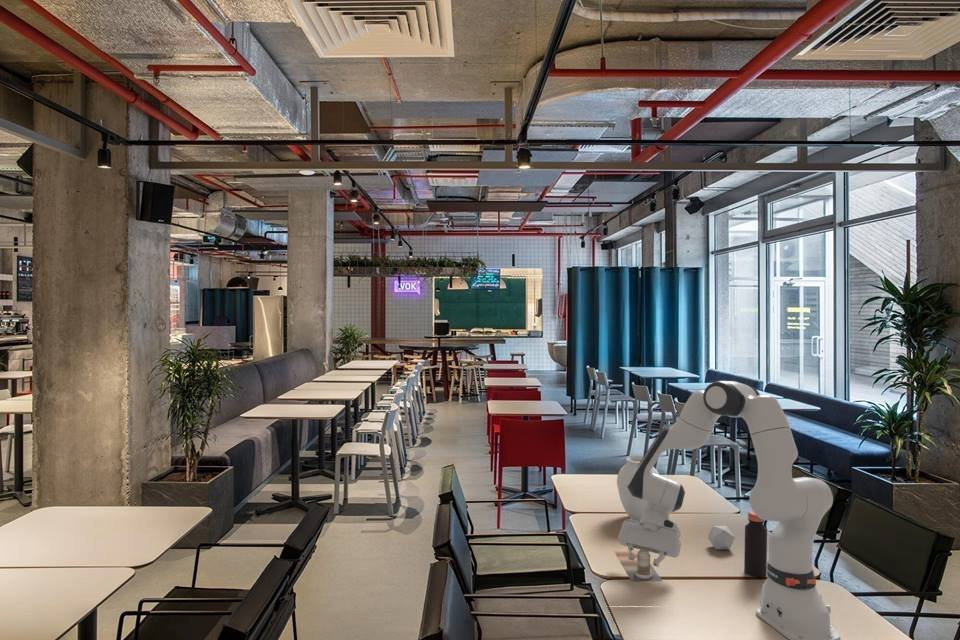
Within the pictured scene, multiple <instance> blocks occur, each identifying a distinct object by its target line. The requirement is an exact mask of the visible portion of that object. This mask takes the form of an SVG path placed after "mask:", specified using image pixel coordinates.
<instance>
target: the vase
mask: <svg viewBox="0 0 960 640" xmlns="http://www.w3.org/2000/svg"><path fill="white" fill-rule="evenodd" d="M643 457H644V456H639V455H633V456H629V457H626V463H625V464H624V465H623V466H622V467H621V468H620V470H619V472H618V473H617V478H616V486H617V490H618V495H619V498H620V502H621V504H622V507H623V509H624V511H625V513H626V514H627V516H628V517H629V519H632V520H638V521H640V520H641V517H642V513H643V510H644V509H645V507H646V500H644V499H640V498H637V497H634V496H632V495H631V493H630V491H629V489H628V487H627V484H628V479H629V477H630V475H631V473H632V472H633V471H634V470H635V469H636V467H637V466H638V465H639V463H640V462H641V460H642V459H643ZM651 471H652V472H654V473H656V474H659V471H658V470H657V469H656V467H654V466H653V467H652V469H651ZM659 475H660V474H659Z"/></svg>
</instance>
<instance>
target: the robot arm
mask: <svg viewBox="0 0 960 640" xmlns="http://www.w3.org/2000/svg"><path fill="white" fill-rule="evenodd" d="M722 416H725V417H728V418H729V417H730V418H742V419H743V421H745V422H746V424H747V427H748V431H749V434H750V437H751V441H752V444H753V448H754V449H753V450H754V452H755V456H756V462H757V477H756V481H755V484H754V486H753V487H752V488H751V490H750V493H749V505H750V508H751V509H752V510H751V511H753V512H754V513H755V514H756V515H757V516H758V517H759V518H760V519H763V520H764V521H767V522H769V521H770V522H778V524H777V526H776V527H775V528H774V529H773V530H772V531H771V532H770V535H769V539H768V541H769V542H768V544H769V545H768V561H767V572H766V576H767V578H766V580H765V582H764V583H763V585H762V587H761V597H760V607H758V608H756V610H755V615H756V616H757V617H759V618H760V619H761V620H763V621H765V623H767V624H768V625H769V626H771V627H772V628H773V629H774V630H776V631H777V632H779V633H780V634H781V635H782V636H784V637H785V638H787V639H788V640H841V636H840V634H839V632H838V631H837V630H836V629H835V626H833V625H832V622H831V619H830V618H831V617H830V614H831V611H832V610H831V609H832V608H831V605H830V604H825V603H824V601H823V597H822V594H820V593H819V591H818V589H817V587H816V585H817V582H816V581H817V579H816V575H815V572H814V569H813V554H814V553H813V550H814V541H815V538H816V534H817V531H818V529H819V526H820V524H821V522H822V519H823V517H824V516H825V515H826V513H827V512H828V511H830V509H831V508H832V506H833V504H834V503H833V502H834V496H833V491H832V490H831V487H830V486H829V484H827V483H826V482H825V480H823V479H820V478H815V477H809V476H808V477H807V476H801V477H793V472H792V471H793V469H792V468H793V464H794V462H795V461H796V460H797V458H798V456H799V452H798V448H797V445H796V443H795V439H794V436H793V433H792V432H793V431H792V429H791V427H790V424H789V421H788V419H787V416H786V414H785V411H784V410H783V408H782V405H781V404H780V402H779V401H778V399H777V398H775V396H773V395H770V394H760V392H759V391H758V390H757V389H756V388H755V387H753V386H752V385H750V384H748V383H747V384H746V383H741V382H738V381H735V380H717V381H713V382H711V383H709V385H707V386H706V387H705V389H704V390H703V389H702V390H701V389H700V390H699V389H698V390H695V391H694V392H692V393H691V394H690V396H689V397H688V399H687V401H686V402H685V404H684V406H683V408H682V409H681V412H680V414H679V416H678V419H677V420H676V422H675V423H673V424H672V425H670V426H669V427H664V428H663V429H662V430H660V432H659V433H658V434H657V436H656V437H655V439H654V440H653V442H652V443H651V444H650V446H649V447H648V449H647V451H646V453H645V454H644V455H643V456H642V457H643V459H642V460H641V462H640V463H639V465H638V466H637V467H636V469H635V470H634V471H633V472H632V473H631V475H630V477H629V479H628V484H627V487H628V489H629V491H630V493H631V495H632V496H634V497H637V498H640V499H644V500H646V507H645V509H644V510H643V513H642V517H641V520H640V521H638V520H632V519H630V518H628V519H625V520H623V522H622V523H621V529H620V530H619V533H618V535H617V540H618V542H619V545H621V546H623V547H624V546H625V547H627V550H628V551H629V556H628V558H629V560H633V561H634V558H635V555H634V554H633V553H632V551H635V550H634V549H637V550H641V549H646V550H647V551H648V552H649V553H654V554H659V556H658V557H657V558H653V562H652V564H653V565H652V566H653V567H657V568H659V566H660V564H661V562H662V561H663V560H665V558H666V557H672V558H675V559H676V558H678V557H679V556H680V552H681V547H682V545H681V543H682V542H681V535H682V534H681V530H680V527H679V526H678V525H677V524H676V523H675V522H674V521H672V520H670V514H671V513H674V512H677V511H679V510H681V508H682V507H683V502H684V497H685V494H686V491H685V488H684V486H683V485H682V484H681V483H680V482H678V481H676V480H674V479H671V478H669V477H666V476H663V475H660V474H656V473H654V472H652V471H651V469H652V467H654V465H655V464H656V463H657V461H658V460H659V458H660V457H661V455H662V454H663V453H664V452H666V451H670V450H686V451H687V450H695V449H699V448H701V447H703V446H705V445H706V444H707V442H708V441H709V439H710V437H711V435H712V433H713V430H714V428H715V425H716V423H717V421H718V419H719V418H720V417H722Z"/></svg>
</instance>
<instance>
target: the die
mask: <svg viewBox="0 0 960 640" xmlns="http://www.w3.org/2000/svg"><path fill="white" fill-rule="evenodd" d="M735 538H736V537H735V536H734V534H733V532H732V531H731V529H729V527H728V526H727V525H712V526H711V529H710V531H709V533H708V536H707V539H708V540H709V542H710V543H711V545H712V547H713V548H714V549H715V550H717V551H718V550H720V551H721V550H725V551H726V550H731V548H732V545H733V543H734V541H735V540H736V539H735Z"/></svg>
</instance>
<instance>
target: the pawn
mask: <svg viewBox="0 0 960 640" xmlns="http://www.w3.org/2000/svg"><path fill="white" fill-rule="evenodd" d="M638 551H639V552H638V554H637V570H635V576H636V577H637V578H639V579H644V580H647V579H651V578H652V572H651V571H650V564H651V554H650V552H649V551H647V550H646V549H638Z"/></svg>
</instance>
